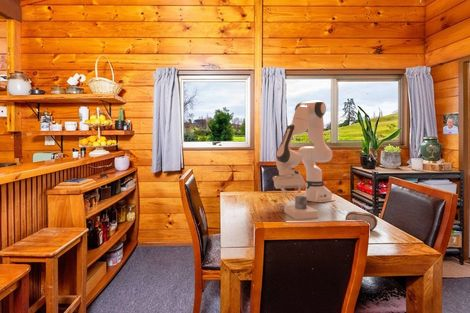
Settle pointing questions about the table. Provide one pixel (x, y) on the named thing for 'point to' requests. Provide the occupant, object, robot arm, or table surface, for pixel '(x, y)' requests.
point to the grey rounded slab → (363, 218)
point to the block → (300, 202)
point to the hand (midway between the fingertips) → (292, 192)
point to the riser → (301, 212)
